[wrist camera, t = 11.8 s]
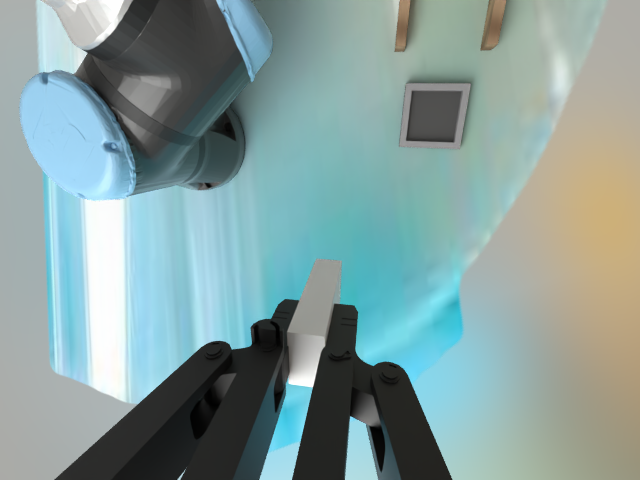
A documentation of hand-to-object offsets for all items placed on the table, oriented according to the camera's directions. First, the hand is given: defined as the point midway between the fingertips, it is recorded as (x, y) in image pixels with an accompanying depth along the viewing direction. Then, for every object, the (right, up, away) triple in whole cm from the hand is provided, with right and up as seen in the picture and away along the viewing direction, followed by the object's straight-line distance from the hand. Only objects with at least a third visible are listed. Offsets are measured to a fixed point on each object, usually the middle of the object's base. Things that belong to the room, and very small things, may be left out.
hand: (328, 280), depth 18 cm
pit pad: (+15, +19, +24) cm, 34 cm away
